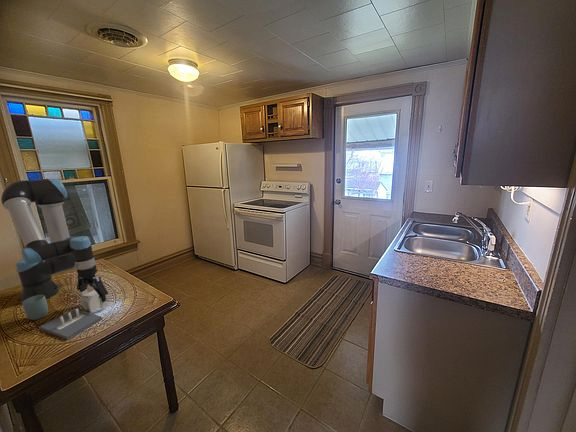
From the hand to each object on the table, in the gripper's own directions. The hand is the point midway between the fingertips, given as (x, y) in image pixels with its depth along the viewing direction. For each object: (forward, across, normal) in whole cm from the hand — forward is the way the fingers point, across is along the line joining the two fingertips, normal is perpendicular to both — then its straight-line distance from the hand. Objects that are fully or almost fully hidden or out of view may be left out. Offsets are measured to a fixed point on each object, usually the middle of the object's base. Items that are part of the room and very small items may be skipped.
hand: (95, 304), depth 125 cm
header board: (+1, +4, -13) cm, 14 cm away
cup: (+2, -18, -15) cm, 23 cm away
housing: (+1, 0, 0) cm, 1 cm away
